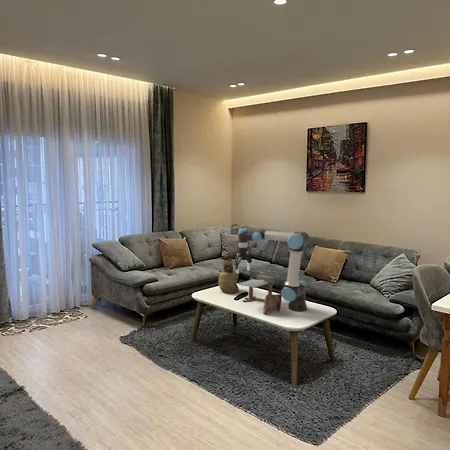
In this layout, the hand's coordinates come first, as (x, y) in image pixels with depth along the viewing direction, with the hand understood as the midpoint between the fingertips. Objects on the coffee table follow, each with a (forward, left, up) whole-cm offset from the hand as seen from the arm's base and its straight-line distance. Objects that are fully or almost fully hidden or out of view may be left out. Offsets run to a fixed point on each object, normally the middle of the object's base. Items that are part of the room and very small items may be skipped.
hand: (243, 271), depth 340 cm
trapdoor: (-11, -4, -12) cm, 17 cm away
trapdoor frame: (-11, -10, -27) cm, 31 cm away
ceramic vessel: (+29, -20, -27) cm, 44 cm away
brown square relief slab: (-32, +7, -27) cm, 43 cm away
